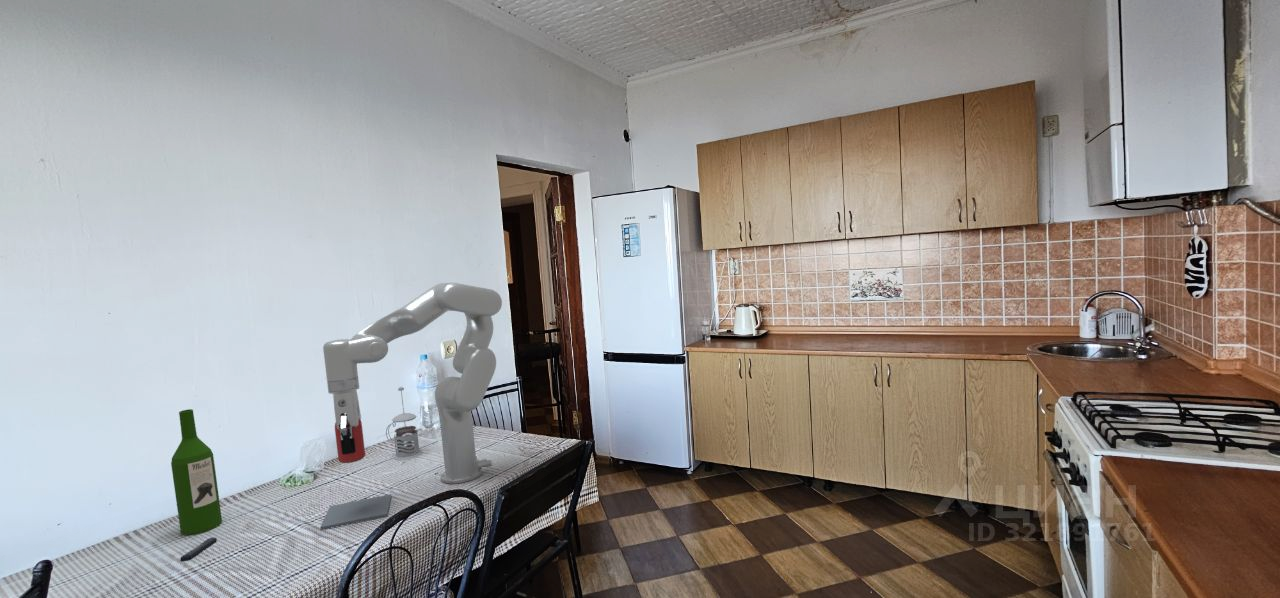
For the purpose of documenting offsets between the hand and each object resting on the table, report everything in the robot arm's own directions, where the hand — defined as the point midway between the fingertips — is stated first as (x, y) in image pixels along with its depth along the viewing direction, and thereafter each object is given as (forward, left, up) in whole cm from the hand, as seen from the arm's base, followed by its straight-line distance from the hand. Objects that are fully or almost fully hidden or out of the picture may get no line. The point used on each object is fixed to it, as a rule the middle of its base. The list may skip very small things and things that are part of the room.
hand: (351, 448), depth 154 cm
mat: (0, 0, -18) cm, 18 cm away
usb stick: (+35, +4, -19) cm, 40 cm away
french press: (-10, -45, -18) cm, 50 cm away
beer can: (0, 0, -3) cm, 3 cm away
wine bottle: (+40, -12, -18) cm, 46 cm away
